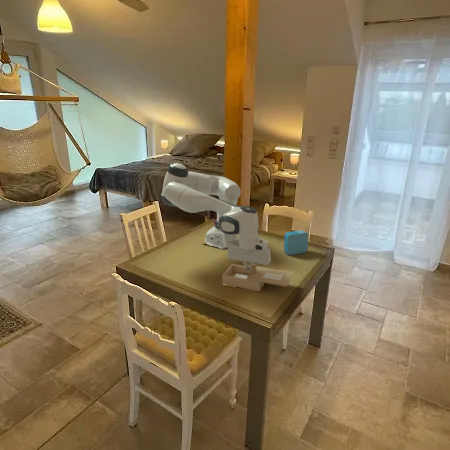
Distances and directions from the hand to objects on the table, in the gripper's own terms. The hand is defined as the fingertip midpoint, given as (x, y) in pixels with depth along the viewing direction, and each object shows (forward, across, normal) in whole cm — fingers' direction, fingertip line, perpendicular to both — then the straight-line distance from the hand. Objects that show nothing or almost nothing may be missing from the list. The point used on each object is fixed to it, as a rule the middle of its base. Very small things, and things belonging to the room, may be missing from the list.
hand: (248, 269), depth 162 cm
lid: (+2, +10, 0) cm, 10 cm away
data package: (+7, +13, +40) cm, 43 cm away
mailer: (+7, -2, 0) cm, 7 cm away
